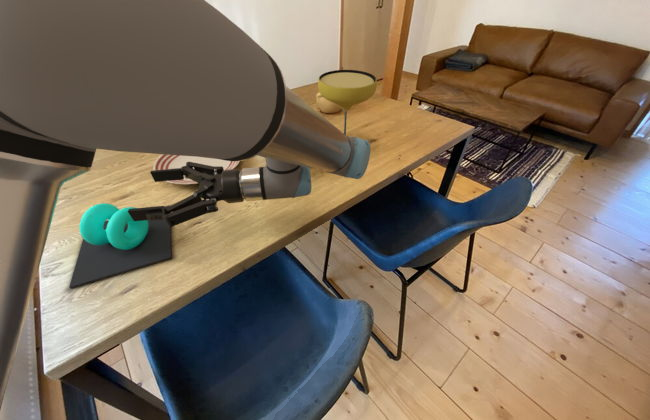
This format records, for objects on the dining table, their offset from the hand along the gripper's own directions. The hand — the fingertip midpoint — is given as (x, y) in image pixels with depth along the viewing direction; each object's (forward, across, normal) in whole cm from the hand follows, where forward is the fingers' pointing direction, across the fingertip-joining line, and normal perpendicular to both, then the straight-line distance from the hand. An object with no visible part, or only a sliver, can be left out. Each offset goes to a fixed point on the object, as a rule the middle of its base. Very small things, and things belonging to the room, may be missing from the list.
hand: (143, 194), depth 60 cm
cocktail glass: (-52, +35, -14) cm, 65 cm away
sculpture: (-53, +72, -14) cm, 90 cm away
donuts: (+10, 0, -14) cm, 17 cm away
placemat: (+10, 0, -14) cm, 17 cm away
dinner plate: (-2, +32, -14) cm, 35 cm away
